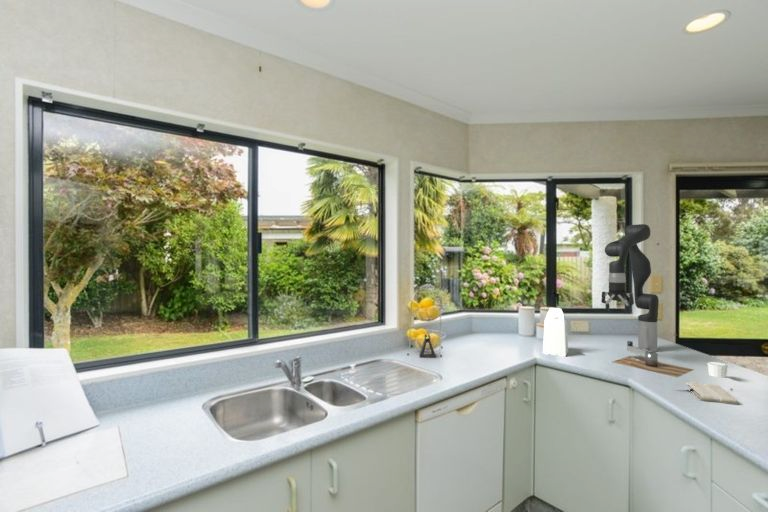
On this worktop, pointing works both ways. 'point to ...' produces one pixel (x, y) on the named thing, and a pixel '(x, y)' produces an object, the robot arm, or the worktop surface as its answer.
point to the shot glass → (717, 369)
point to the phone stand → (424, 349)
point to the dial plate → (661, 367)
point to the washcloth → (711, 393)
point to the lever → (644, 354)
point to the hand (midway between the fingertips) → (617, 312)
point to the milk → (555, 333)
